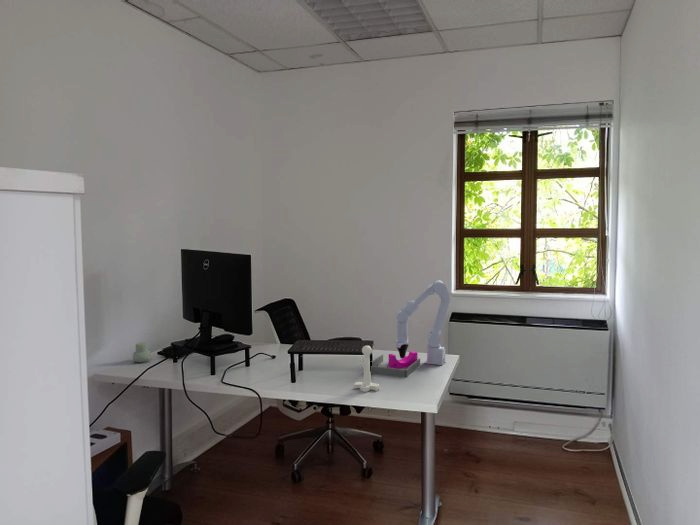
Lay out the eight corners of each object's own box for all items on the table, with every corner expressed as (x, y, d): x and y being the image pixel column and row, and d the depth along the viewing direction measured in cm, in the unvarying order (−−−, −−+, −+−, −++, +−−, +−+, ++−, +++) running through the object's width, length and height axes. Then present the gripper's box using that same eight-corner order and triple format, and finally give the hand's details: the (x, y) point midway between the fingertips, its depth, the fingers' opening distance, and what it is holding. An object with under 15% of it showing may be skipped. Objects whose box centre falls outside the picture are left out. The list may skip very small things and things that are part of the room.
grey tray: (420, 365, 280) (420, 358, 280) (406, 377, 260) (406, 370, 259) (381, 361, 289) (381, 354, 289) (365, 372, 269) (365, 365, 268)
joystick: (380, 388, 244) (380, 345, 242) (375, 393, 236) (375, 349, 235) (357, 386, 247) (356, 343, 246) (351, 391, 240) (351, 347, 239)
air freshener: (148, 363, 290) (147, 345, 289) (132, 364, 288) (131, 346, 287) (151, 358, 300) (150, 340, 300) (135, 359, 299) (134, 341, 298)
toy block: (411, 363, 285) (411, 349, 284) (417, 366, 279) (417, 352, 278) (386, 367, 279) (386, 353, 278) (392, 370, 273) (391, 355, 272)
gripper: (399, 330, 294) (399, 354, 296) (390, 335, 281) (390, 360, 282) (411, 330, 292) (412, 355, 293) (403, 336, 278) (403, 362, 280)
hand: (402, 358), depth 287 cm, fingers closed
